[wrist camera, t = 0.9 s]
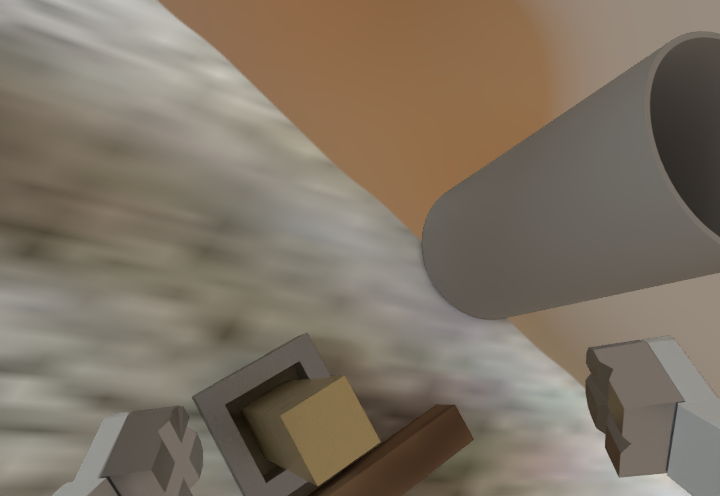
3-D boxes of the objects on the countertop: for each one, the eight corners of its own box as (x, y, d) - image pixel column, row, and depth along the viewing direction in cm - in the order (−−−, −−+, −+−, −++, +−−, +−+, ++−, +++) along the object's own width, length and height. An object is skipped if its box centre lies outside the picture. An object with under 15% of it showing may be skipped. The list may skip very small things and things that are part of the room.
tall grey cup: (454, 343, 49) (722, 299, 26) (395, 210, 50) (604, 57, 27) (558, 290, 54) (859, 214, 31) (503, 171, 55) (754, 13, 32)
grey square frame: (191, 396, 41) (194, 396, 38) (299, 335, 44) (307, 332, 42) (250, 509, 40) (257, 516, 38) (354, 438, 44) (365, 441, 42)
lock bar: (239, 409, 42) (280, 415, 29) (286, 380, 43) (345, 375, 31) (265, 458, 42) (317, 486, 29) (311, 427, 43) (380, 442, 30)
